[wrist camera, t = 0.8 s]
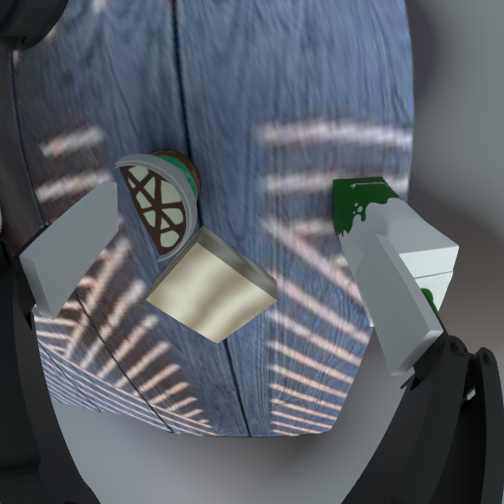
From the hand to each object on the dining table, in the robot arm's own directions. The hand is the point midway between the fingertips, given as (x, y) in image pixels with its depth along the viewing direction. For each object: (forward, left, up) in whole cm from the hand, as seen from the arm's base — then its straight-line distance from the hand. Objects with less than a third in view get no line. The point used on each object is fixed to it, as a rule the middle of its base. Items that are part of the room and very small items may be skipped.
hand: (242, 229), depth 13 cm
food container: (-4, -9, -22) cm, 24 cm away
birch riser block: (+9, -20, -22) cm, 31 cm away
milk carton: (+15, +4, -22) cm, 27 cm away
